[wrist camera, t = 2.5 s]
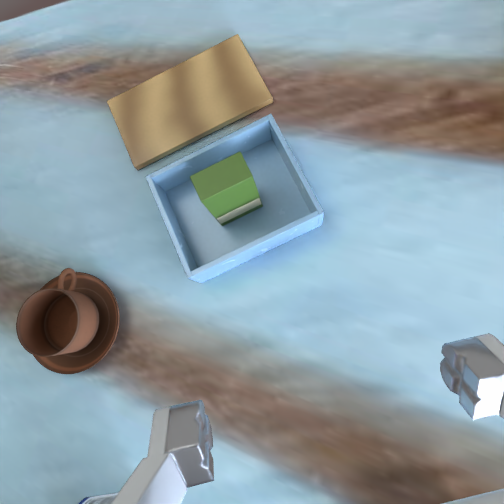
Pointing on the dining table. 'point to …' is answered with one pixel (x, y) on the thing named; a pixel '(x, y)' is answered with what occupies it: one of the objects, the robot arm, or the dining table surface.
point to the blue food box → (99, 499)
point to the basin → (248, 226)
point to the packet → (227, 189)
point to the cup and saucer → (69, 322)
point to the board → (189, 102)
